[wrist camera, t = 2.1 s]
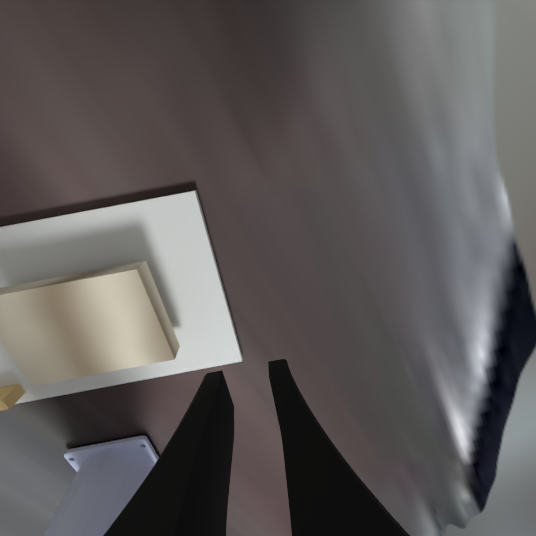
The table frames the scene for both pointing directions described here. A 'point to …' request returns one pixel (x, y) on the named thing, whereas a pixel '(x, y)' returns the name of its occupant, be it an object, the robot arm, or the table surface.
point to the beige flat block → (86, 324)
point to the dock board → (120, 253)
